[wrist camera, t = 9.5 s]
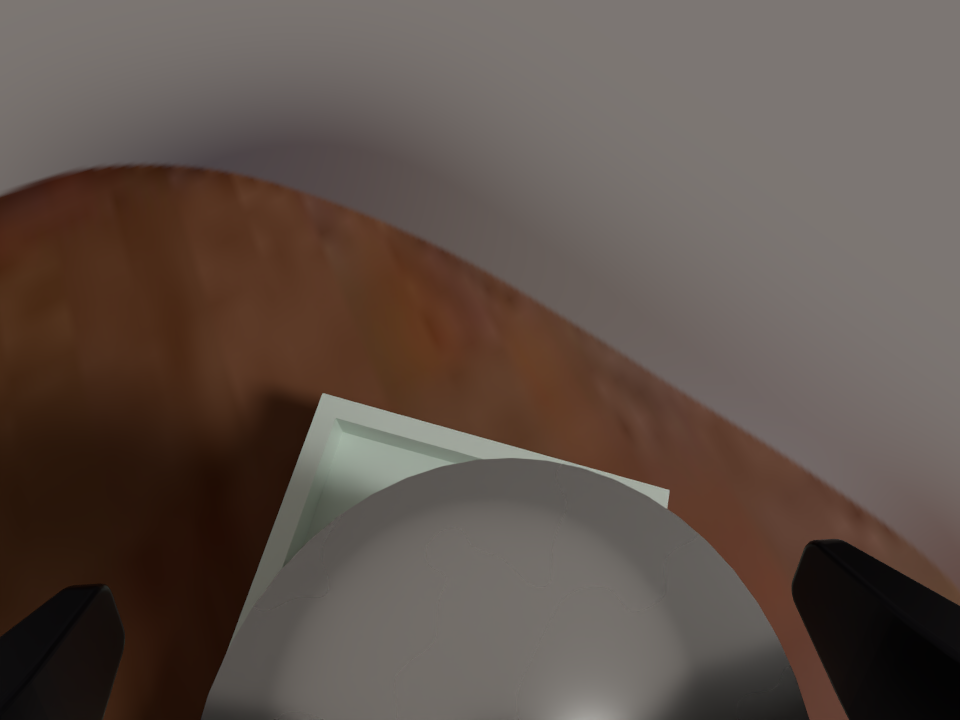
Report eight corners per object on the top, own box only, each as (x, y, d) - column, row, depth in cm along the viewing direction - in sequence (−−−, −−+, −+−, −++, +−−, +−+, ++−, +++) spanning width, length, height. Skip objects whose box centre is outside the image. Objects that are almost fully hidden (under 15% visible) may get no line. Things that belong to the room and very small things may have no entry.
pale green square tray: (578, 882, 16) (606, 936, 14) (202, 780, 16) (165, 816, 14) (639, 499, 20) (669, 490, 17) (333, 414, 20) (322, 393, 17)
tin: (443, 807, 16) (535, 1503, 4) (294, 634, 17) (25, 799, 5) (590, 629, 18) (940, 760, 6) (447, 481, 19) (509, 345, 7)
